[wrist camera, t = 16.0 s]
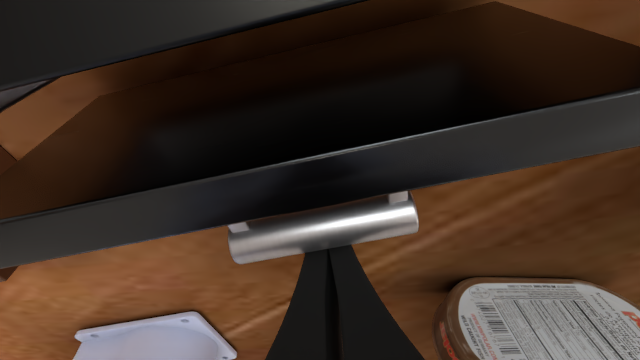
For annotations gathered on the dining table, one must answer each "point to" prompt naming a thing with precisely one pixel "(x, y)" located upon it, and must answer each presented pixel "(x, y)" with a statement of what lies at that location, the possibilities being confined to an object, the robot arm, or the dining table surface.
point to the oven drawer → (320, 137)
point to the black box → (123, 30)
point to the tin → (535, 321)
